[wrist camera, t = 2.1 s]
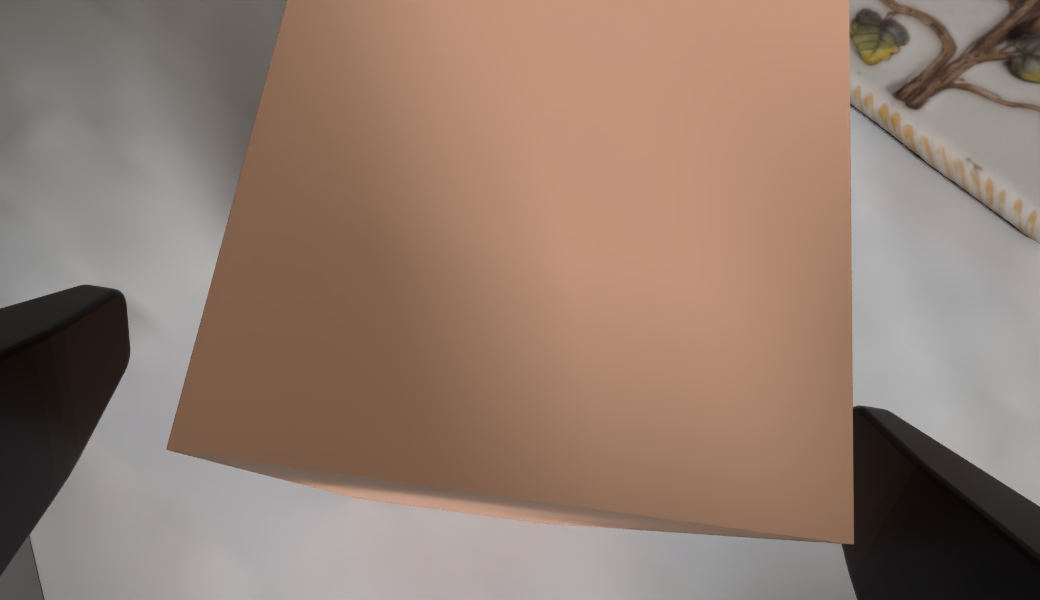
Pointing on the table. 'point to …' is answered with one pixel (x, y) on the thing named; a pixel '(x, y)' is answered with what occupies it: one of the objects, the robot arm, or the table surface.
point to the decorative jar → (957, 92)
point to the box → (21, 577)
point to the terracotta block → (545, 265)
